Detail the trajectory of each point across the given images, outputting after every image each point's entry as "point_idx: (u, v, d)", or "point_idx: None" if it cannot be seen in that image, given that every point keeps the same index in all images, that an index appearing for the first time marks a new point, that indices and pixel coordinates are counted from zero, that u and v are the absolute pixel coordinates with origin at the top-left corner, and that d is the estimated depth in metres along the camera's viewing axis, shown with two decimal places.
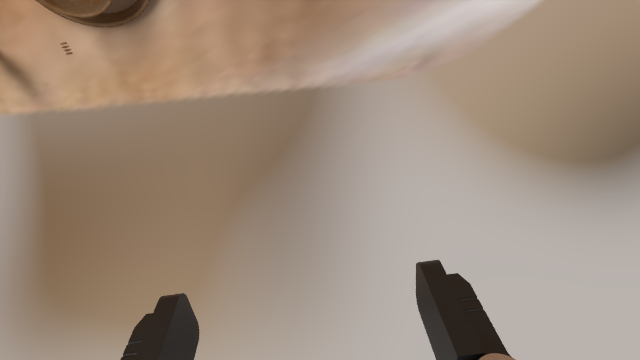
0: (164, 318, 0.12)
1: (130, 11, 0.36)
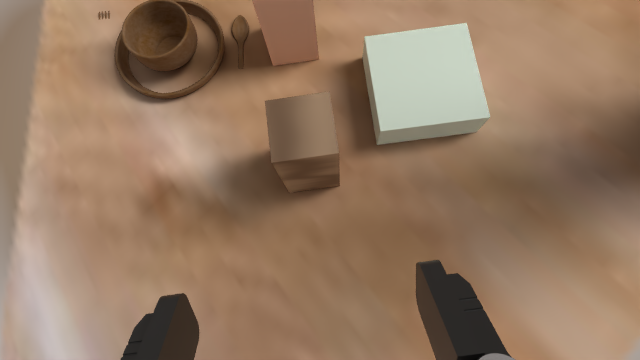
0: (164, 318, 0.12)
1: (125, 70, 0.41)
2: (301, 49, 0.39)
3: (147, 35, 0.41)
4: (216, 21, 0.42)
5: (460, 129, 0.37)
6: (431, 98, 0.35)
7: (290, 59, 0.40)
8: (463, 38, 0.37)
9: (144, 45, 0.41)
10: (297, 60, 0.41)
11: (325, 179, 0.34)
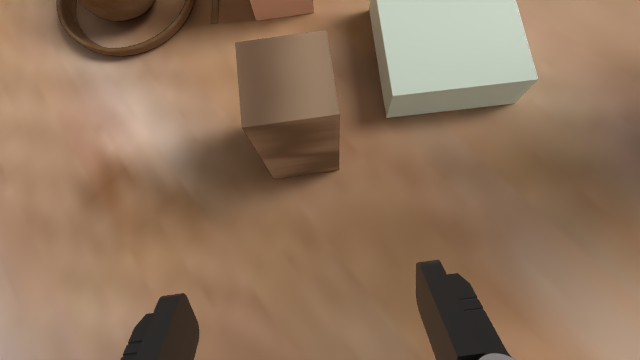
0: (164, 318, 0.12)
1: (70, 20, 0.33)
2: None
3: None
4: None
5: (495, 97, 0.28)
6: (460, 54, 0.27)
7: (277, 11, 0.32)
8: None
9: None
10: (286, 13, 0.32)
11: (320, 159, 0.26)
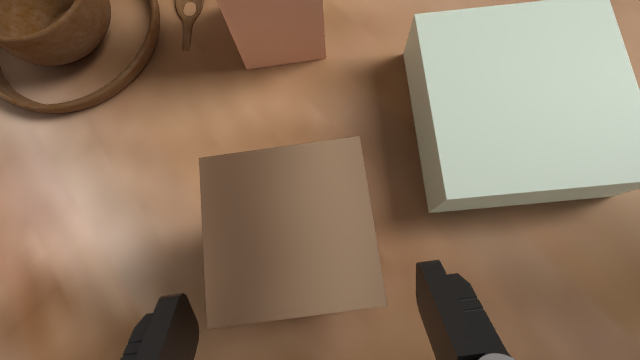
0: (164, 318, 0.12)
1: None
2: (296, 40, 0.22)
3: (29, 4, 0.24)
4: None
5: (591, 194, 0.19)
6: (547, 135, 0.18)
7: (276, 58, 0.23)
8: (603, 22, 0.19)
9: (23, 21, 0.24)
10: (288, 60, 0.23)
11: None
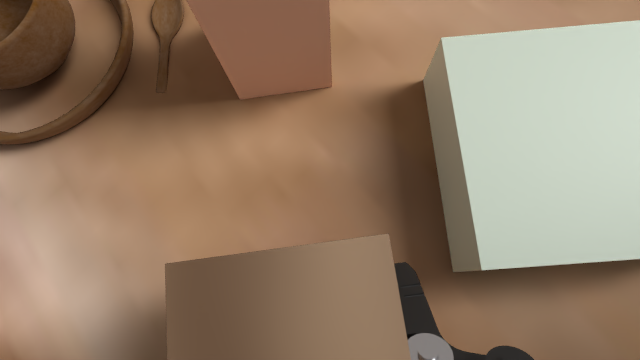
0: None
1: None
2: (297, 68, 0.18)
3: None
4: None
5: None
6: (604, 191, 0.15)
7: (274, 87, 0.20)
8: None
9: None
10: (288, 89, 0.20)
11: None
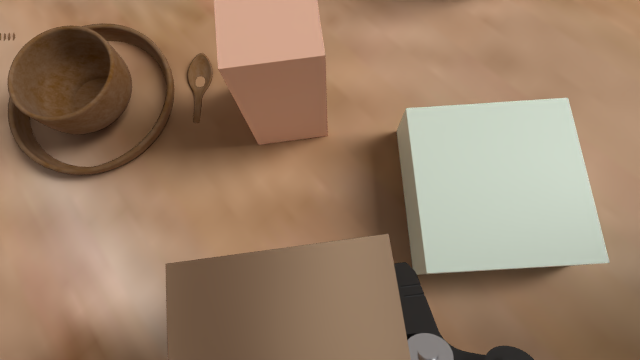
0: None
1: (24, 126, 0.28)
2: (302, 126, 0.25)
3: (60, 76, 0.28)
4: (164, 61, 0.28)
5: None
6: (512, 221, 0.22)
7: (285, 137, 0.27)
8: (563, 123, 0.23)
9: (54, 91, 0.28)
10: (295, 138, 0.27)
11: None
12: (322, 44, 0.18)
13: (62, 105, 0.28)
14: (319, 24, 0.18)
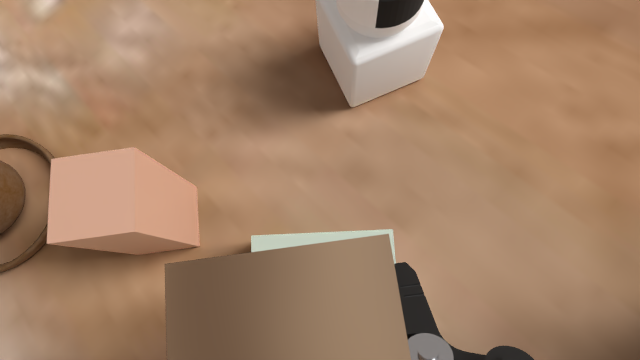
0: None
1: None
2: (167, 246, 0.29)
3: None
4: None
5: None
6: None
7: (158, 250, 0.30)
8: None
9: None
10: (169, 250, 0.30)
11: None
12: (133, 221, 0.21)
13: None
14: (133, 202, 0.21)
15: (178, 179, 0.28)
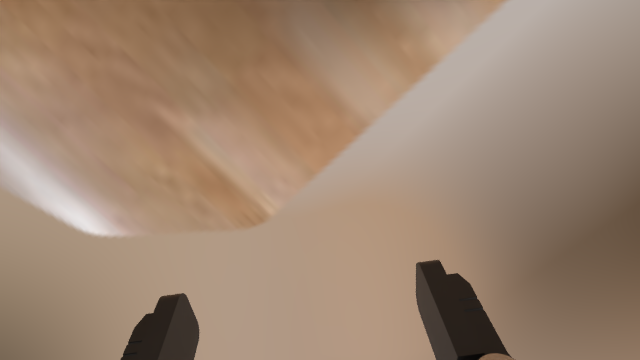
0: (164, 318, 0.12)
1: None
2: None
3: None
4: None
5: None
6: None
7: None
8: None
9: None
10: None
11: None
12: None
13: None
14: None
15: None
